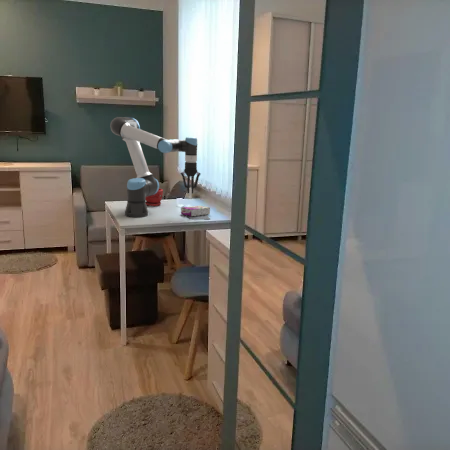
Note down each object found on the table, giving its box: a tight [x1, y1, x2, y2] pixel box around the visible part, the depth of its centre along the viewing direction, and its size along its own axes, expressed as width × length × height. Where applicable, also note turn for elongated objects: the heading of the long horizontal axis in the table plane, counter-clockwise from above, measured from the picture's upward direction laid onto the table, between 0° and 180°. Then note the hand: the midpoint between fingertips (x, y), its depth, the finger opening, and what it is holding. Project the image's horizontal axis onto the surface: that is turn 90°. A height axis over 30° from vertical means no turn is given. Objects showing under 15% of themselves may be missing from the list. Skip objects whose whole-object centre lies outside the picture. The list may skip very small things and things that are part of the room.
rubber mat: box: [188, 214, 211, 220], centre depth 288 cm, size 13×12×1 cm
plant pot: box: [146, 188, 164, 207], centre depth 318 cm, size 13×13×12 cm
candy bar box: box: [180, 205, 211, 217], centre depth 294 cm, size 11×5×16 cm
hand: (190, 198), depth 284 cm, fingers closed
